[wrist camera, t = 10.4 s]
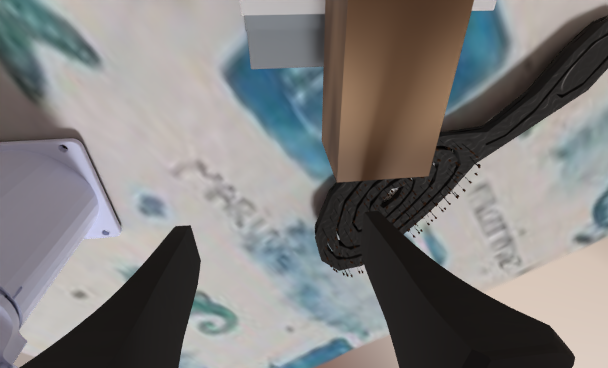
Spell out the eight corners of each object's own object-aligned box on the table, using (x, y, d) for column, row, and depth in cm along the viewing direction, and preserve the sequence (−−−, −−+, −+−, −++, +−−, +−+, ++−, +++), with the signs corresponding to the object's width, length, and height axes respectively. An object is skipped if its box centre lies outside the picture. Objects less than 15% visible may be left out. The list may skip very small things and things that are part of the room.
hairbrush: (677, 78, 19) (361, 296, 25) (616, 67, 22) (349, 263, 28) (661, -47, 15) (293, 248, 21) (589, -39, 18) (288, 216, 25)
